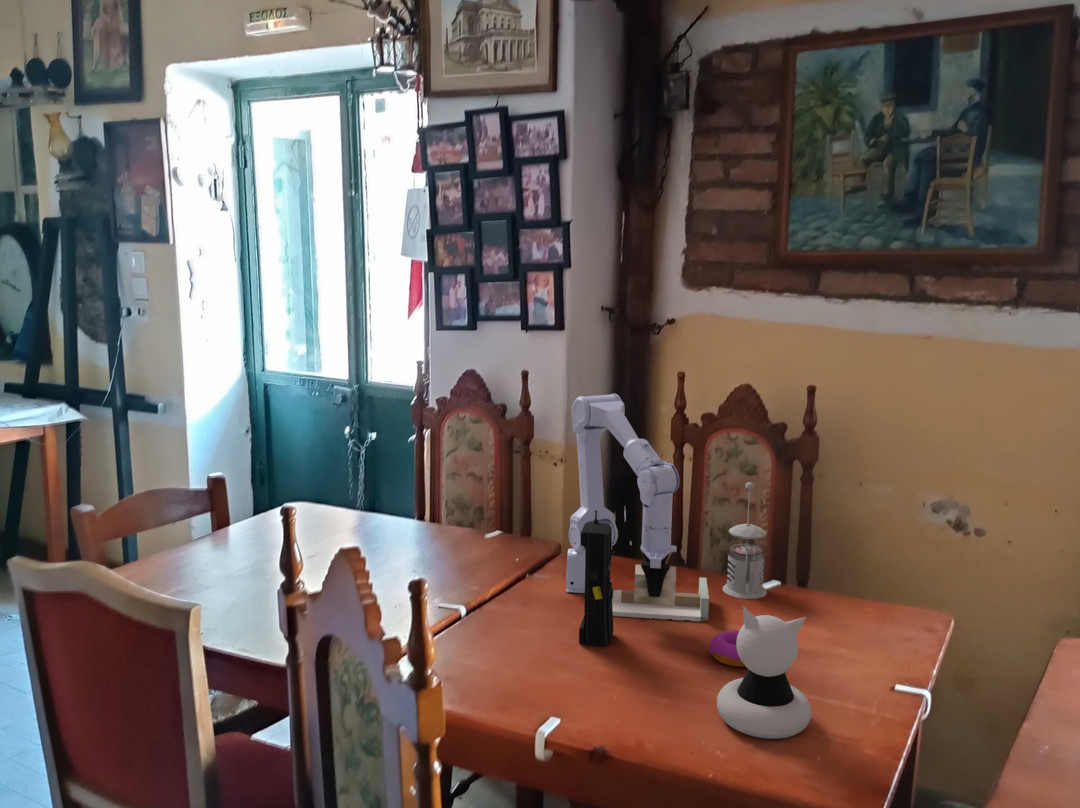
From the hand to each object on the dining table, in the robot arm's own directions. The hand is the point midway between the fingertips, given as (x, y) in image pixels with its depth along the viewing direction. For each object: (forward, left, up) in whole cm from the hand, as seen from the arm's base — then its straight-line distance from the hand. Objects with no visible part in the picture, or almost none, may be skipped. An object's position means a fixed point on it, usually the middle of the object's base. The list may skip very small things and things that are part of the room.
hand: (654, 590), depth 178 cm
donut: (+16, -12, -8) cm, 21 cm away
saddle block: (0, 0, -2) cm, 2 cm away
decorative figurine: (+18, -34, -8) cm, 39 cm away
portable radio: (-11, -8, -8) cm, 16 cm away
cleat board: (+1, +10, -8) cm, 13 cm away
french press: (+20, +22, -8) cm, 31 cm away
